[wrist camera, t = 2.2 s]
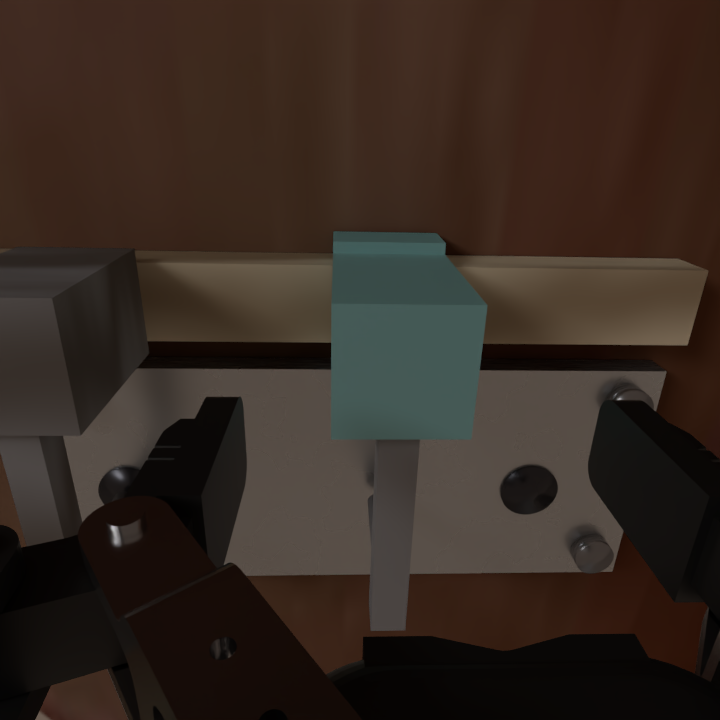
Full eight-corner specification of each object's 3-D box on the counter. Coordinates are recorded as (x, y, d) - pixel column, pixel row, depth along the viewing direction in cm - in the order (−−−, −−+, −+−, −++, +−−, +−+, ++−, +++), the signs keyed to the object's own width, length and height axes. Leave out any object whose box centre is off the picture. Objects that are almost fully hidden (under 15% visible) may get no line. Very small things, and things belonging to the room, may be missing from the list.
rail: (-35, 234, 21) (-240, 295, 13) (680, 246, 22) (854, 307, 15) (33, 493, 25) (-91, 643, 18) (617, 490, 27) (724, 629, 19)
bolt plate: (46, 356, 23) (22, 375, 21) (651, 360, 24) (676, 378, 22) (91, 559, 27) (74, 588, 25) (601, 554, 28) (619, 582, 26)
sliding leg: (333, 231, 21) (331, 288, 14) (436, 233, 21) (489, 290, 14) (332, 494, 26) (330, 641, 18) (416, 494, 26) (447, 639, 19)
